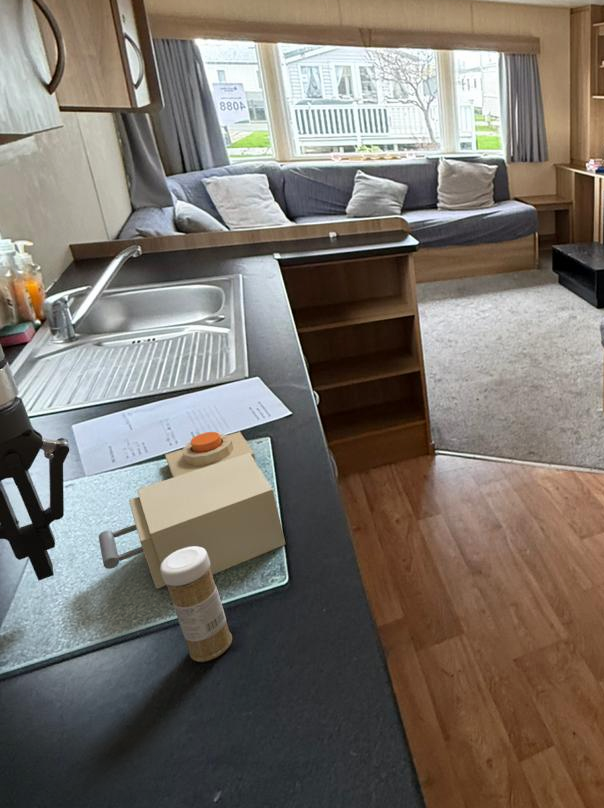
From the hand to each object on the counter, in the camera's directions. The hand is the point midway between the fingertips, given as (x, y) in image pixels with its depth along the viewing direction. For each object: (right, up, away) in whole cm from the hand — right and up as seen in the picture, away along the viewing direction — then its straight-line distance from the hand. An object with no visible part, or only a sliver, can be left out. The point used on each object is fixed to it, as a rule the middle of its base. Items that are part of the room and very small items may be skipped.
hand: (45, 572), depth 82 cm
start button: (+2, +10, +31) cm, 33 cm away
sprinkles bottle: (+23, -8, -4) cm, 25 cm away
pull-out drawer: (+11, -1, +10) cm, 15 cm away
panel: (+2, +7, +32) cm, 33 cm away
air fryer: (+14, -1, +13) cm, 19 cm away
